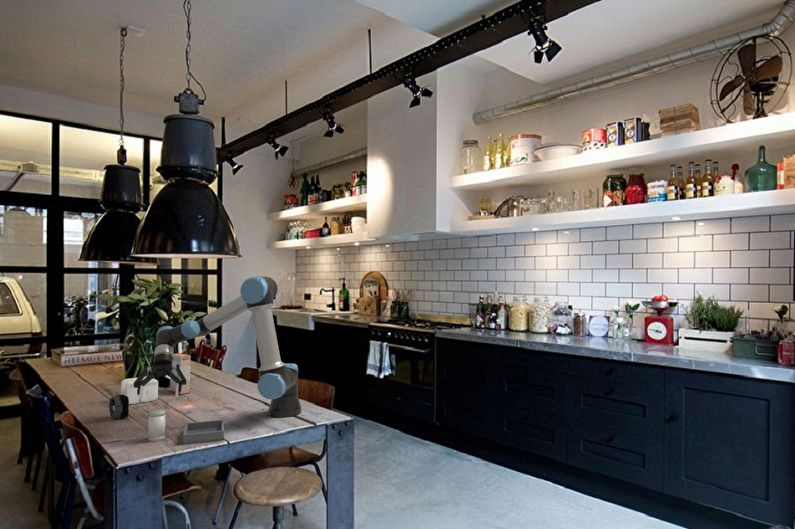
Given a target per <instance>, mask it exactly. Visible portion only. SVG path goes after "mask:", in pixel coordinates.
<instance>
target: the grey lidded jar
mask: <svg viewBox="0 0 795 529" xmlns="http://www.w3.org/2000/svg"><path fill="white" fill-rule="evenodd" d="M147 424H148V428H147V429H148V431H147V432H148V437H147V438H148V439H147V440H148V442H150V443H157V442H162V441H164V440H165V439H166V409H164V408H158V409H151V410H149V411H148V423H147Z"/></svg>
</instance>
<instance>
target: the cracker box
mask: <svg viewBox="0 0 795 529" xmlns="http://www.w3.org/2000/svg"><path fill="white" fill-rule="evenodd" d="M191 357H192V356H191V355H190V354H185V353H181V352H180V353H179V352H178V353H177V352H176V353H173V361H172V366H176V365H177V364H179V367H180V370H181V372H182V373H183V375H184V377H185V378H186V382H187V384H186V385H182V390H181V392H178V395H180V394H181V395H186V394H190V393H191ZM172 373H173V374H174V375H175V376H177V377H178V378H179V379H180V377H179V375H178V373H177V371H175V370H174V369H173V370H172ZM180 380H181V379H180ZM176 385H177V383H176V382H174V381H173V380H172V379H171V378H170V377H169V391H170V392H172V393H175V394H176Z"/></svg>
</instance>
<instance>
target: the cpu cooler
mask: <svg viewBox="0 0 795 529" xmlns="http://www.w3.org/2000/svg"><path fill="white" fill-rule="evenodd" d="M128 401H129V399H128V397H127V396H125V395H123V394H122V395H121V394H118V395H115V396H112V397H110V399H109V403H108V404H109V405H108V408H109V409H108V411H109V414H110V418H111V419H112V420H116V419H127V418H129V414H130V413H129V411H130V410H129V409H130V404H129V402H128Z"/></svg>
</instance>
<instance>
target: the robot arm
mask: <svg viewBox="0 0 795 529" xmlns="http://www.w3.org/2000/svg"><path fill="white" fill-rule="evenodd" d="M239 289H240V291H239V294H240V295H239V296H237V297H236V298H234V299H233V300H231V301H229V302H227V303H226V304H224V305H222V306H221V307H218V308H217V309H215V310H214V311H211V312H210V313H208V314H206V315H205V316H203V317H202V318H200V319H198V320H193V319H191V320H188V321H185V322H183V323H180V324H179V325H177V326H175V327H172V326H170V325H166V326H165V325H164V326H161V327H160V328H159V329H158V330H157V334H156V336H155V337H156V338H155V348H154V355H153V363H152V366H150V367H149V366H148V365H145V366H143V367H144V368H143V369H142V371H141V373H140V374H139V375H138V377H136V378H137V379H136V380H135V382H134V383H133V385H134V388H138V389H137V394H138V395H139V403H138V404H143V402H142V396H143V387H144V386H145V385H146V384H147V383H148V382H149V381H150V380H152V379H155V378H157V377H166V376H167V377H169V379H170V378H171V379H172V380H173V381H174V382H176V383H177V385H176V393H175V401H178V400H179V394H178V392H181V390H182V385H186V384H187V382H186V378H185V377H184V375H183V373H182V372H181V370H180V367H179V364H177V365H176V366H172V361H173V354H174V349H175V345H178V344H181V343H183V342H185V341H188V340H191V339H195V338H200V337H201V338H202V337H205V336H208V335H209V334H210V333H211V332H212V331H213V330H215V329H217V328H218V327H221V326H223V325H224V324H226V323H228V322H229V321H232V319H235V318H236V317H238V316H240V315H242V314H244V313H245V312H247V311H250V312H251V317H252V322H253V326H254V332H255V339H256V344H257V349H258V356H259V360H260V367H259V368H258V375H259V379H258V381H257V391H258V393H259V394H260V396H262V397H264V398H265V399H268V400H270V403H269V405H268V411H267V412H268V416H271V417H274V418H287V417H288V418H289V417H294V416H297V415H300V414H302V408H303V407H302V405H301V404H302V403H301V401H300V398H299V395H298V393H299V390H298V388H299V384H298V383H299V367H298V365H297V364H296V363H285V362H283V361H282V360H281V355H280V349H279V344H278V338H277V332H276V327H275V323H274V322H275V321H274V317H273V310H272V308H273V306H274V304H275V302H274V299H275V297H276V296H277V294H278V291H279V288H278V284H277V282H276V281H275V280H274V279H273V278H271V277H269V276H259V275H257V276H252V277H249V278H247V279H245V280H244V281H243V282H242V283H241V287H240V288H239ZM173 369H174V370H175V371H177V373H178V375H179V377H180V379H181V380H180V379H179V378H178V377H177V376H175V375H174V374H173V373H172V370H173ZM148 373H150V374H148ZM147 374H148V375H147ZM144 377H146V378H145V379H144Z"/></svg>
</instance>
